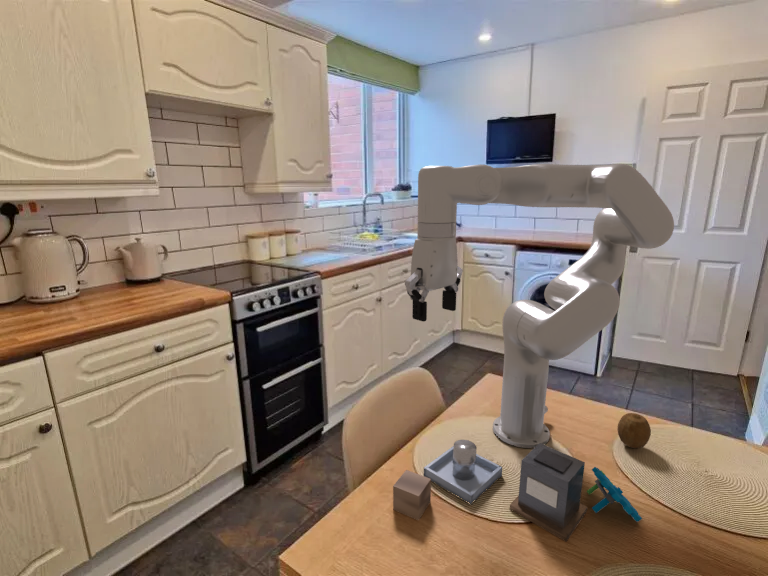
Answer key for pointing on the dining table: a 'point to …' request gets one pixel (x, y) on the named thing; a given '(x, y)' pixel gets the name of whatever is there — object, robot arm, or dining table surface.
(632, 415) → the fruit
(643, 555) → the dining table surface
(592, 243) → the robot arm
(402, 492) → the block
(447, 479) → the tray
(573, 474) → the box with rectangular openings
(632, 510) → the blue green-pegged part
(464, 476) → the metal cylinder
